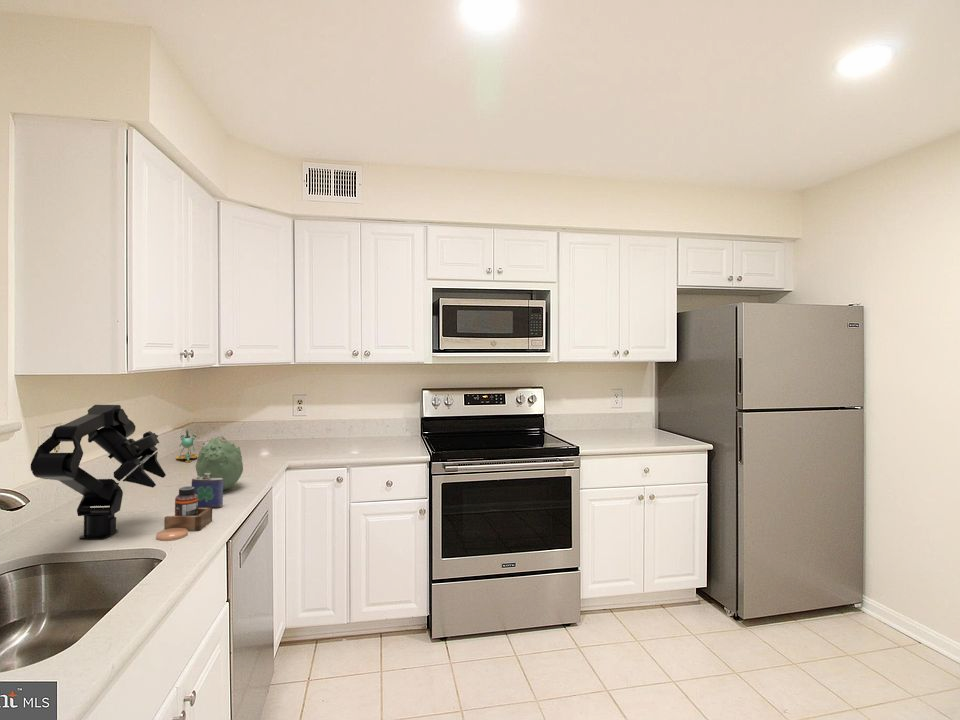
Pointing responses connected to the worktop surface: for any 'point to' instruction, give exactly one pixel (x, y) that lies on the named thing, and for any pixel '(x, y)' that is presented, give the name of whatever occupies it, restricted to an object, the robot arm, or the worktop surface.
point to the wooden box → (189, 520)
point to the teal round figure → (187, 443)
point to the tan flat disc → (171, 534)
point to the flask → (208, 491)
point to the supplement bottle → (186, 502)
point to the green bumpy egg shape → (220, 461)
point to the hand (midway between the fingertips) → (159, 481)
